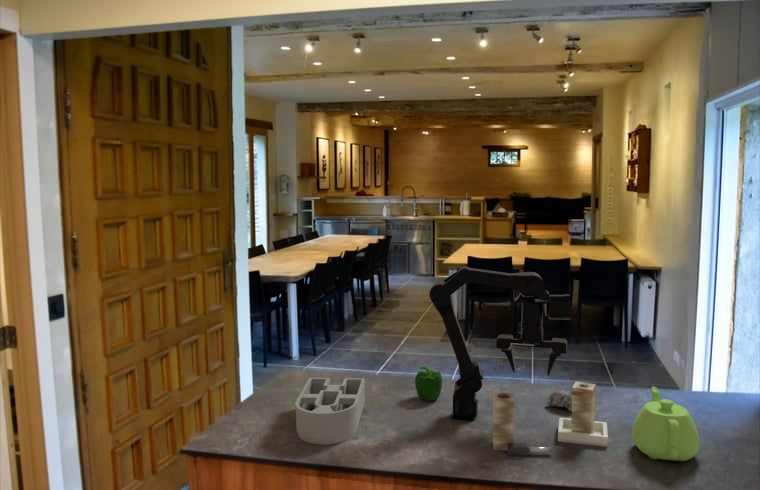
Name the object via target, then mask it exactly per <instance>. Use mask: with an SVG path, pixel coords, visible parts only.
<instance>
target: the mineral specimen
mask: <svg viewBox="0 0 760 490" xmlns="http://www.w3.org/2000/svg"><path fill="white" fill-rule="evenodd" d="M545 404H546V405H547V406H549V407H557V408H560V407H561V408H566V409H567V410H568V412H572V390H558V391H553V392H552V393H550V395H549V396H548V398H547V400H546V401H545Z"/></svg>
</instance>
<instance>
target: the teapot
mask: <svg viewBox="0 0 760 490" xmlns="http://www.w3.org/2000/svg"><path fill="white" fill-rule="evenodd" d="M659 391H660V390H659V388H658V387H656V386H651V394H652V395H651V401H649V402H646V403H645V404H644V405H643V407H641V409H640V411H638V414H637V416H636V417H635V419H634V422H633V425H632V428H631V429H632V430H631V437H632V440H633V442H634V444H635V445H636V447H637V449H639V451H640V452H642V454H645V455H647V457H648V458H649V459H653V460H667V461H678V462H679V461H680V462H686V461H689V460H691V459H692V458H693V457H694V456H696V454H697V453H698V452H699V450H700V437H699V432H698V429H697V427H696V426H697V425H696V423H695V422H694V420H693V418H692V416H691V414H690V413H689V411H688V409H686V408H685V407H684V406H682V405H680V404H677V403H674V401H673V400H671V399H666V398H665V399H664V398H663V399H661V395H660V392H659Z"/></svg>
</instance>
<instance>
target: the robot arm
mask: <svg viewBox="0 0 760 490" xmlns="http://www.w3.org/2000/svg"><path fill="white" fill-rule="evenodd" d="M467 283H471V284H478V285H484V286H491V287H499V288H506V289H511V290H513V291H515V292H518V293H519V295H517V296H516V297H515V298H514V302H515V303H516V304H521V315H520V316H521V319H520V320H521V321H518V324H517V333H518V334H520V338H514V336H513V334H505V333H504V334H499V335H498V337H497V338H496V343H495V344H496V345H495V346H496V347H495V349H498V350H500V352H502V353H504V354H505V356H506V357H507V360H508V363H509V365H510V367H511V370H512V372H513V374H515V373H516V361H515V360H516V359H515V347H528V348H540V349H541V348H543V349H550V353H549V359H548V364H547V373H546V374H547V375H546V376H550V374H551V371H552V368H553V365H554V363H555V361H556V360H557V358H558V357H561V356H562V355H563V354H567V351H568V340H567V339H566V338H561V337H560V338H559V337H552V339H551V340H544V327H543V325H544V324H543V323H544V321H543V320H544V319H543V317H544V316H547V317H548V319H549V320H565V321H566V320H567V321H570V320H572V315H573V308H572V301H571V295H570V293H569V294H567V293H565V294H550V292H549V290H547V289H546V288H545V281H544V280H543V278H542V277H541V276H540V274H538V273H537V272H534V271H524V272H521V271H520V272H512V273H511V272H510V273H509V272H502V271H494V270H488V269H481V268H472V267H468V266H462V267H460V268H459V269H458V270H457V271H455V272H454V273H452V274H450V275H449V276H447V277H446V278H445V279H443V280H438V281H435V282H434V283H433V284H432V286H431V288H430V290H429V299H430V300H431V302H432V305H433V306H434V308H435V310H436V311H437V313H438V314H439V315H440V316H441V318H442V322H443V324H444V327H445V329H446V333H447V336H448V338H449V341H450V344H451V347H452V349H453V351H454V355H455V357H456V360H457V364H458V373H459V378H457V380H456V381H455V382H454V389H453V394H452V414H451V415H450V416H451V419H455V420H456V419H457V420H463V421H464V420H466V421H475V419H476V417H478V415H479V399H477V393H478V392H480V390H481V389H482V387H483V380H484V371H483V370H482V367H481V365H480V364H481V363H480V359H476V360H475V359H473V357H472V356H471V354H470V351H469V348H468V345H467V343H466V340H465V337H464V336H465V335H464V334H463V331H462V328H461V325H460V322H459V320H458V317H457V314H456V311H455V307H454V306H455V305H454V298H453V294H454V293H456V292H457V291H458V290H459V289H460V288H461V287H463V286H464V285H465V284H467ZM523 294H524V295H523ZM535 297H537V298H535ZM543 314H545V315H543ZM514 346H515V347H514Z"/></svg>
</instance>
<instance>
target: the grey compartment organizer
mask: <svg viewBox="0 0 760 490" xmlns="http://www.w3.org/2000/svg"><path fill="white" fill-rule="evenodd" d="M330 381H331V378H330V377H309V378H308V380H307V381H306V383H305V385H304V387H303V388H302V390H301V392H300V394H299V395H298V396H297V399H296V400H295V403H294V409H295V422H296V423H295V424H296V425H295V426H296V428H295V429H296V433H297V436H298V438H299V439H300V440H301V441H304V442H306V443H309V444H314V445H321V446H322V445H335V444H336V445H337V444H341V443H344V442H347V441H349V440H351V439H352V438H354V437H355V436H356V435H357V430H358V427H359V423H360V420H361V417H362V413H363V409H364V406H365V402H366V401H365V386H366V378H357V377H356V378H355V377H354V378H353V377H352V378H351V377H347V378H346V377H345V378H344V379H343V382H342V383H341V384H331V383H330ZM312 407H314V409H312ZM311 409H312V410H311Z"/></svg>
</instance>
